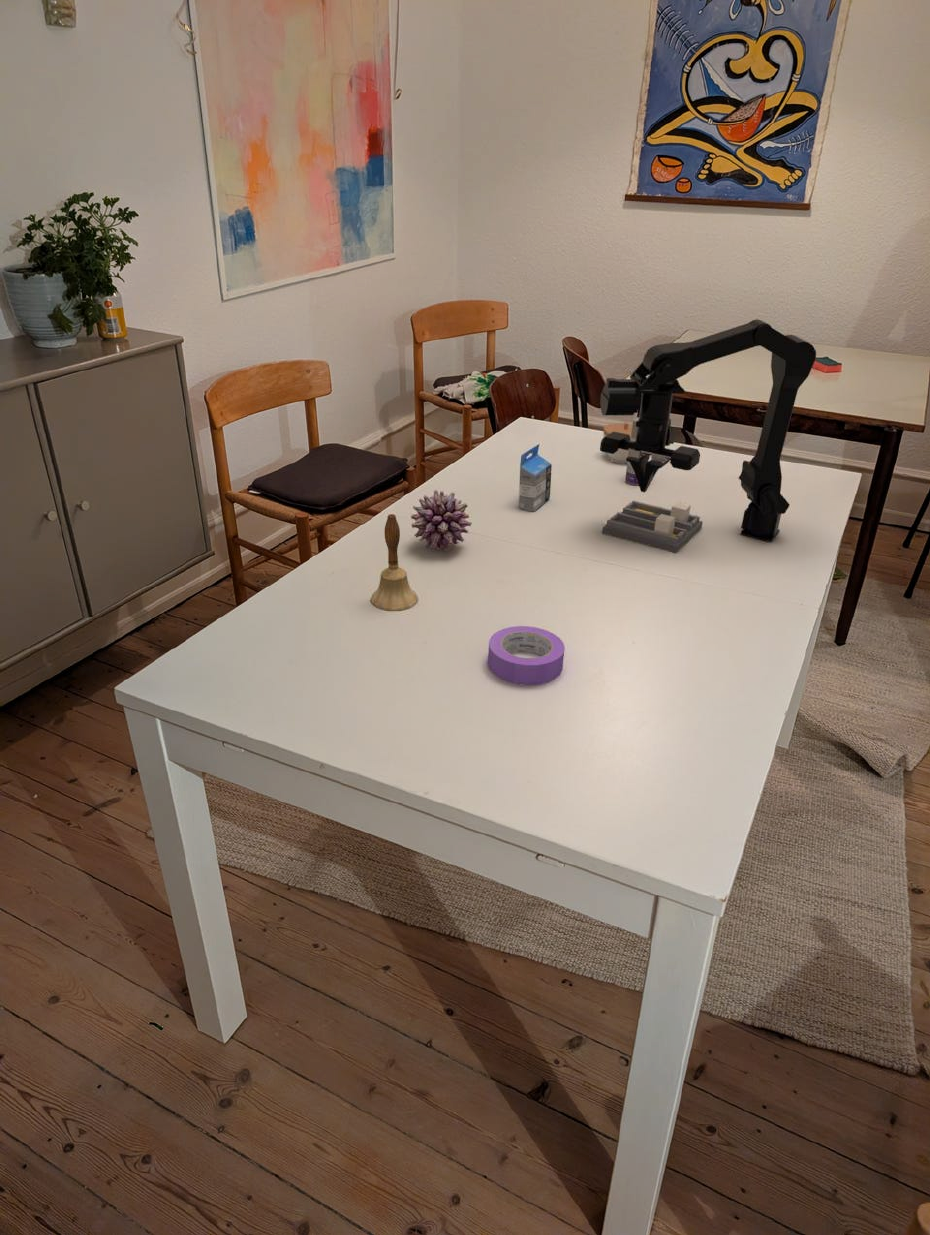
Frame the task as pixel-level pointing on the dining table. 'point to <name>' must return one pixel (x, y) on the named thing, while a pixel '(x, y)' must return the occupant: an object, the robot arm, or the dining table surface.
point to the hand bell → (393, 576)
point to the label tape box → (534, 480)
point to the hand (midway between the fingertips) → (643, 491)
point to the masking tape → (525, 668)
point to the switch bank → (650, 527)
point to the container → (630, 472)
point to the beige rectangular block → (680, 511)
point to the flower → (440, 520)
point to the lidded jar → (621, 428)
